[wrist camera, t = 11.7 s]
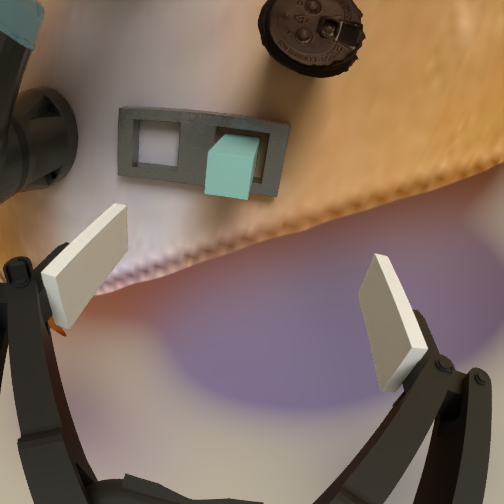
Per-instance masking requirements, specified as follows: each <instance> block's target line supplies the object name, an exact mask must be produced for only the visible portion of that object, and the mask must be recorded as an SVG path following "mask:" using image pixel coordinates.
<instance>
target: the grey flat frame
mask: <svg viewBox="0 0 504 504" xmlns="http://www.w3.org/2000/svg"><path fill="white" fill-rule="evenodd" d="M140 120H157V121H171V122H181V130H180V142H179V155H178V167H176V166H168V165H158V164H149V163H139V162H138V149H139V125H140ZM219 126H221V127H229V128H237V129H244V130H251V131H257V132H264V133H270V137H269V143H268V149H267V155H266V161H265V167H264V173H263V179H261V178H255V177H253V181H252V185H251V189H250V192H249V193H255V194H261V195H267V196H273V197H277V194H278V189H279V184H280V178H281V173H282V168H283V162H284V157H285V151H286V146H287V140H288V135H289V129H290V123H286V122H281V121H275V120H269V119H263V118H256V117H249V116H242V115H234V114H226V113H218V112H208V111H198V110H187V109H174V108H157V107H131V106H126V107H122V108H119V120H118V175H120V176H129V177H139V178H147V179H156V180H164V181H172V182H180V183H188V184H195V185H202V186H205V180H206V169H207V158H208V151H209V150H210V149H211V148H212V147H213V146H214V145H215V144H216V143H217V137H218V128H219Z"/></svg>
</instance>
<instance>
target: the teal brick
mask: <svg viewBox="0 0 504 504" xmlns="http://www.w3.org/2000/svg"><path fill="white" fill-rule="evenodd" d="M259 143H260V137H253V136H246V135H239V134H231V133H226V134H225V135H224V136H223V137H222V138H221V139H220V140H219V141H218V142H217V143H216V144H215V145H214V146H213V147H212V148H211V149H210V150H209V151H208V158H207V169H206V180H205V192H204V194H210V195H217V196H224V197H231V198H238V199H244V200H248V196H249V192H250V189H251V185H252V181H253V177H254V173H255V170H256V163H257V156H258V150H259Z"/></svg>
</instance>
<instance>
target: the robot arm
mask: <svg viewBox="0 0 504 504" xmlns="http://www.w3.org/2000/svg"><path fill="white" fill-rule="evenodd" d="M43 19H44V8H43V6H42V4H41V3H39V2H38V1H36V0H0V204H1V203H3V202H4V201H6V200H7V199H8V198H10V197H11V196H13V195H14V194H16V193H18V192H25V191H32V190H40V189H44V188H47V187H49V186H51V185H53V184H54V183H56V182H58V181H59V180H61V179H62V178H63V177H64V176H65V175H66V174H67V173H68V171H69V170H70V168H71V166H72V164H73V162H74V159H75V155H76V151H77V143H78V133H77V125H76V121H75V117H74V114H73V112H72V110H71V108H70V106H69V104H68V103H67V101H66V100H65V99H64V98H63V97H62V96H61V95H60V94H59V93H58V92H56V91H54V90H52V89H50V88H45V87H40V88H34V89H29V90H26V91H23V92H21V93H19V94H18V91H19V87H20V84H21V81H22V78H23V74H24V72H25V69H26V66H27V63H28V60H29V58H30V55H31V52H32V50H34V48H35V41H36V38H37V35H38V32H39V29H40V27H41V24H42V22H43ZM17 94H18V95H17ZM127 251H128V233H127V205H122V204H116V203H114V204H113V205H112V206H111V207H110V208H108V209H107V210H106V211H105V212H104V213H103V214H102V215H100V216H99V217H98V218H97V219H96V220H95V221H94V222H93V223H91V224H90V225H89V226H88V227H87V228H86V229H85V230H84V231H83V232H82V233H81V234H79V235H78V236H77V237H76V238H75V239H74V240H73V241H72V242H71V243H67V242H66V243H64V244H62V245H60V246H58V247H57V248H56V249H55V250H53V251H52V252H51V254H49V255H48V256H47V257H46V259H44V260H43V261H42V262H41V263H40V264H39V265H38V266H37V267H36V268H35V269H34V270H33V267H32V263H31V260H30V259H29V258H27V257H23V256H21V257H15V258H12V259H11V260H9V261H7V263H6V264H5V265H4V267H3V271H4V275H5V278H6V281H7V283H0V390H1V383H2V376H3V370H4V364H5V358H6V353H7V348H8V343H9V356H10V367H11V377H12V385H13V392H14V399H15V405H16V410H17V416H18V422H19V426H20V431H21V438H19V439H18V443H17V444H18V451H19V455H20V458H21V462H22V466H23V470H24V473H25V476H26V480H27V483H28V486H29V490H30V493H31V496H32V499H33V501H34V504H263V503H262V502H252V501H244V500H236V499H230V498H229V499H210V500H192V499H189V498H186V497H184V496H182V495H180V494H178V493H176V492H174V491H172V490H170V489H168V488H166V487H164V486H162V485H160V484H158V483H155V482H151V481H148V480H145V479H141V478H138V477H135V476H132V475H128V474H125V477H124V479H108V480H102V481H97V478H96V477H95V474H94V473H93V471H92V469H91V467H90V465H89V463H88V461H87V459H86V457H85V454H84V451H83V449H82V446H81V443H80V441H79V438H78V435H77V432H76V429H75V426H74V423H73V420H72V417H71V414H70V411H69V407H68V404H67V400H66V397H65V393H64V390H63V386H62V382H61V378H60V374H59V370H58V366H57V362H56V357H55V352H54V347H53V343H52V337H51V332H50V326H49V323H48V320H49V318H50V317H51V316H53V319H54V322H55V325H58V326H60V327H63V328H66V329H70V328H71V326H72V325H73V324H74V322H75V321H76V319H77V318H78V316H79V315H80V313H81V312H82V311H83V309H84V308H85V306H86V305H87V304H88V302H89V301H90V299H91V298H92V297H93V295H94V294H95V293H96V291H97V290H98V289H99V287H100V286H101V285H102V283H103V282H104V281H105V279H106V278H107V277H108V275H109V274H110V273H111V271H112V270H113V269H114V267H115V266H116V265H117V264H118V262H119V261H120V260H121V258H122V257H123V256H124V255H125V253H126V252H127ZM358 299H359V303H360V306H361V310H362V314H363V318H364V322H365V326H366V330H367V334H368V338H369V342H370V347H371V351H372V355H373V360H374V364H375V369H376V374H377V378H378V383H379V388H380V392H396V391H397V390H398V389H399V387H400V386H401V385H402V384H403V388H404V392H403V393H402V394H401V396H400V397H399V398H398V399H397V401H396V402H395V403H394V404H393V408H392V409H391V410H390V412H389V413H388V415H387V416H386V418H385V419H384V420H383V422H382V423H381V424H380V426H379V427H378V429H377V430H376V431H375V433H374V434H373V435H372V437H371V438H370V439H369V440H368V442H367V443H366V444H365V445H364V447H363V448H362V449H361V450H360V452H359V453H358V454H357V455H356V457H355V458H354V459H353V460H352V461H351V463H350V464H349V465H348V466H347V467H346V469H345V470H344V471H343V472H342V473H341V474H340V475H339V476H338V478H337V479H336V480H335V481H334V482H333V483H332V484H331V485H330V486H329V487H328V488H327V489H326V491H325V492H324V493H323V494H322V495H321V496H320V497H319V498H318V499H317V500H316V501H315V502H314V503H313V504H383V503H384V502H385V501H386V499H387V498H388V496H389V495H390V493H391V492H392V490H393V489H394V488H395V486H396V485H397V483H398V482H399V480H400V479H401V477H402V475H403V474H404V472H405V471H406V469H407V467H408V466H409V464H410V463H411V461H412V459H413V457H414V456H415V454H416V452H417V451H418V449H419V447H420V445H421V443H422V442H423V440H424V438H425V436H426V434H427V432H428V431H429V429H430V427H431V425H432V423H433V421H434V419H435V422H434V427H433V431H432V436H431V441H430V445H429V449H428V454H427V457H426V461H425V465H424V469H423V472H422V476H421V479H420V483H419V486H418V489H417V493H416V495H415V499H414V502H413V504H482V503H483V498H484V492H485V486H486V479H487V471H488V462H489V453H490V440H491V419H492V418H491V417H492V415H491V414H492V390H491V389H492V388H491V387H492V386H491V379H490V378H489V376H488V374H487V373H486V372H485V371H483V370H482V369H480V368H472V369H471V370H470V371H469V372H468V374H464V373H461V372H458V371H456V370H455V368H454V365H453V363H452V362H451V361H450V360H449V359H448V358H447V357H445V356H443V355H440V354H439V351H438V349H437V346H436V344H435V342H434V339H433V337H432V334H430V333H431V332H430V330H429V328H428V325H427V323H426V321H425V318H424V317H423V316H422V315H421V314H420V312H419V311H418V310H412V308H411V306H410V304H409V301H408V299H407V297H406V295H405V292H404V290H403V288H402V286H401V284H400V281H399V279H398V277H397V275H396V273H395V271H394V269H393V267H392V265H391V262H390V260H389V258H388V257H387V256H384V255H379V254H374V257H373V260H372V262H371V264H370V267H369V269H368V272H367V274H366V276H365V279H364V281H363V283H362V286H361V288H360V290H359V292H358Z"/></svg>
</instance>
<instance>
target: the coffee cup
mask: <svg viewBox="0 0 504 504" xmlns="http://www.w3.org/2000/svg"><path fill="white" fill-rule="evenodd" d="M362 16H363V14H362V13H361V11H360V10H359V9H358V8H357V6H356V5H355V3H354V2H353V0H267V1H266V3H265V4H264V5H263V7H262V9H261V12H260V15H259V19H258V28H259V31H260V35H261V40H262V44H263V46H265V48H266V49H267V51H268V52H269V54H270V55H271V56H272V57H273V58H274V59H275V60H276V61H278V62H279V63H280V64H282V65H283V66H285V67H287V68H289V69H291V70H294V71H296V72H297V73H299V74H301V75H306V76H311V77H317V78H324V77H325V78H327V77H333V76H335V75H339V74H341V73H342V72H346V71H348V68H349V67H350V66H352V64H353V63H354V62H355V60H357V59H358V57H357V56H356V52H357V50H358V49H359V48H360V47H361V46H362V41H363V40H364V39H365V34H364V32H363V24H361V17H362Z"/></svg>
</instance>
